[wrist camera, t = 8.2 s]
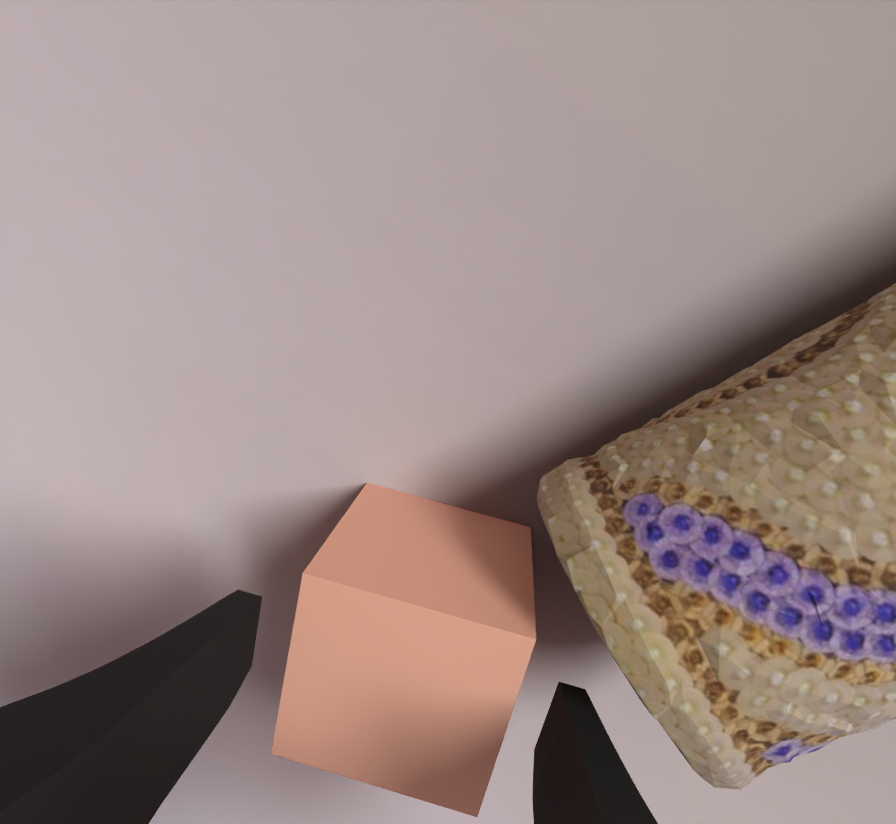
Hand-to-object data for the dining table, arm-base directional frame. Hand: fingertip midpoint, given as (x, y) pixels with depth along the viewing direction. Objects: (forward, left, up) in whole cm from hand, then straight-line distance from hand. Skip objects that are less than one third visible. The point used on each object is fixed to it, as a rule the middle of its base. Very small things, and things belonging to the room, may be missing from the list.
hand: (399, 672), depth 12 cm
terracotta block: (0, 0, -4) cm, 4 cm away
